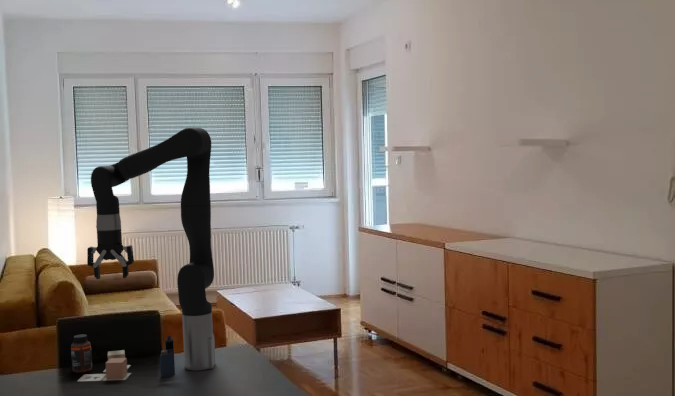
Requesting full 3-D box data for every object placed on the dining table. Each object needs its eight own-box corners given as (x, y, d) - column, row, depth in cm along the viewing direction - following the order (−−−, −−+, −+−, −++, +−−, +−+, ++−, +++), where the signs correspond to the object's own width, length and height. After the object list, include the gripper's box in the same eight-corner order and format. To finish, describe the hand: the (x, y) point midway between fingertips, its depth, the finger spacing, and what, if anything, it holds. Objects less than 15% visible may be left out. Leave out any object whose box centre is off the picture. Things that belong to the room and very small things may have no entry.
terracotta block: (127, 373, 234) (126, 357, 234) (123, 378, 229) (122, 362, 229) (111, 374, 234) (110, 358, 234) (106, 379, 229) (105, 363, 229)
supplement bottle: (95, 368, 243) (93, 333, 242) (87, 373, 237) (85, 337, 237) (77, 368, 244) (75, 333, 243) (69, 373, 238) (67, 338, 237)
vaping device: (176, 374, 234) (175, 335, 233) (166, 379, 229) (164, 339, 228) (169, 373, 235) (168, 335, 234) (159, 378, 230) (157, 339, 229)
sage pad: (131, 374, 235) (131, 372, 235) (125, 381, 228) (125, 379, 228) (108, 374, 235) (108, 373, 235) (102, 381, 228) (102, 380, 228)
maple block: (125, 365, 244) (124, 350, 244) (125, 369, 239) (124, 354, 239) (108, 367, 242) (108, 351, 242) (108, 371, 238) (107, 355, 237)
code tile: (107, 374, 235) (107, 373, 235) (100, 381, 228) (100, 380, 228) (84, 375, 235) (84, 374, 235) (76, 382, 228) (76, 381, 228)
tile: (131, 366, 244) (131, 364, 244) (125, 372, 237) (125, 371, 237) (109, 366, 244) (109, 365, 244) (102, 373, 237) (102, 372, 237)
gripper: (134, 226, 248) (136, 275, 249) (90, 227, 248) (93, 277, 249) (128, 228, 240) (130, 279, 241) (82, 230, 240) (85, 281, 241)
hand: (111, 278), depth 245 cm, fingers open, 8 cm apart
